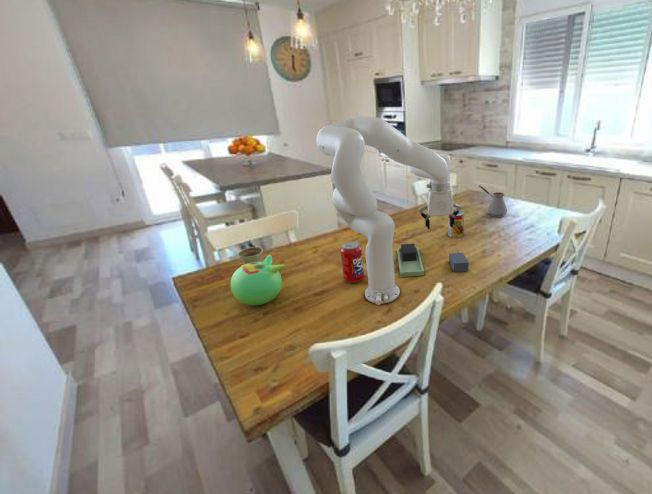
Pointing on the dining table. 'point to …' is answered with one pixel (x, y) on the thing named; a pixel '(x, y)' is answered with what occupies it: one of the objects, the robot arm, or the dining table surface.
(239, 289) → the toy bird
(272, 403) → the dining table surface
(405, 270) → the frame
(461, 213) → the canned food
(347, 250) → the soda can
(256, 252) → the flower pot
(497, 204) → the coffee pot
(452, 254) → the pad slate
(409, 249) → the pad charcoal
